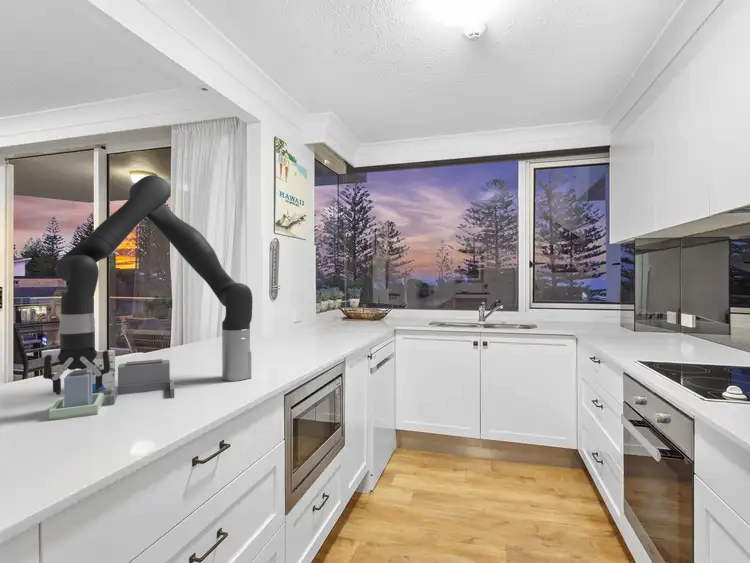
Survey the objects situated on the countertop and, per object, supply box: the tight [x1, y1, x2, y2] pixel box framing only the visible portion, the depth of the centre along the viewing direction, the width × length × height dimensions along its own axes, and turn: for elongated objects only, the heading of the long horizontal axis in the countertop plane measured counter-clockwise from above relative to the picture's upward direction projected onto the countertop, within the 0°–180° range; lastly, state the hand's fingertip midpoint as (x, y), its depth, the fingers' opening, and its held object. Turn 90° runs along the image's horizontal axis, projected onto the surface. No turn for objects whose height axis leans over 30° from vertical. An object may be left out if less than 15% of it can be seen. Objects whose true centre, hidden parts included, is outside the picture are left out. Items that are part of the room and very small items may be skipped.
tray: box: [48, 392, 105, 421], centre depth 110 cm, size 10×13×2 cm
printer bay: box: [109, 358, 175, 406], centre depth 126 cm, size 16×18×9 cm
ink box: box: [80, 349, 116, 393], centre depth 131 cm, size 9×5×12 cm, turn 168°
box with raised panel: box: [63, 369, 93, 408], centre depth 110 cm, size 5×8×10 cm, turn 28°
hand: (78, 391), depth 110 cm, fingers open, 8 cm apart
